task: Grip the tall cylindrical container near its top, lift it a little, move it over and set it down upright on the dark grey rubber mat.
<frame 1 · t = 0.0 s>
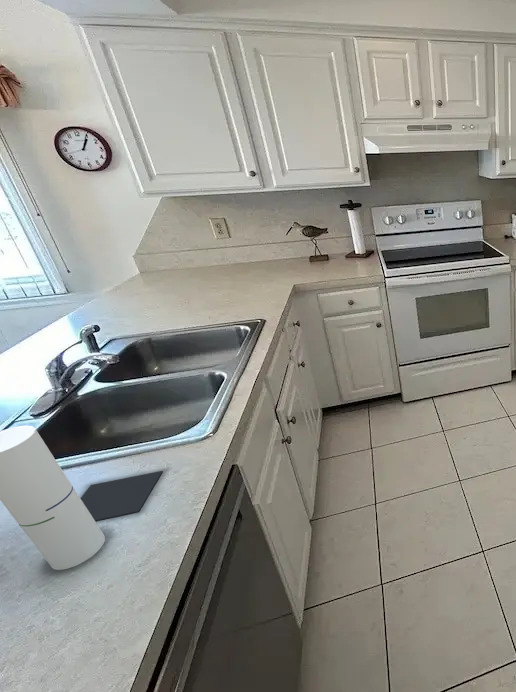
mat: (114, 498, 83), on the worktop
cylindrical container: (79, 551, 73), on the worktop
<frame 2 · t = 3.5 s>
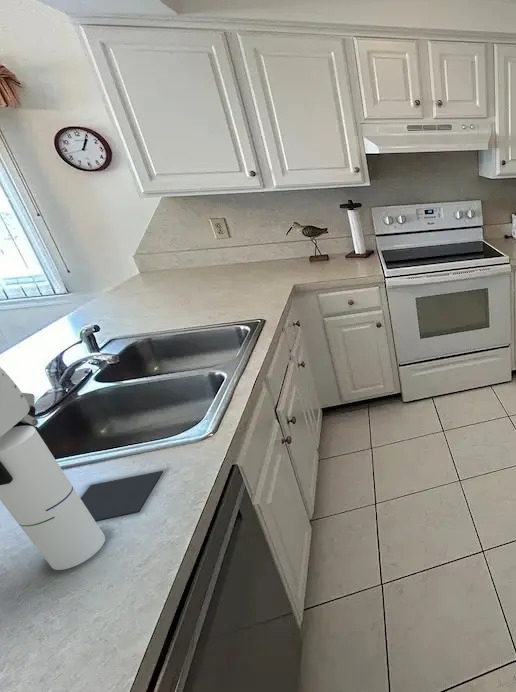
hand: (18, 464, 64), 20 cm above the worktop, tool pointing down, fingers closed on cylindrical container, 7 cm apart
cylindrical container: (79, 551, 73), on the worktop, touching gripper
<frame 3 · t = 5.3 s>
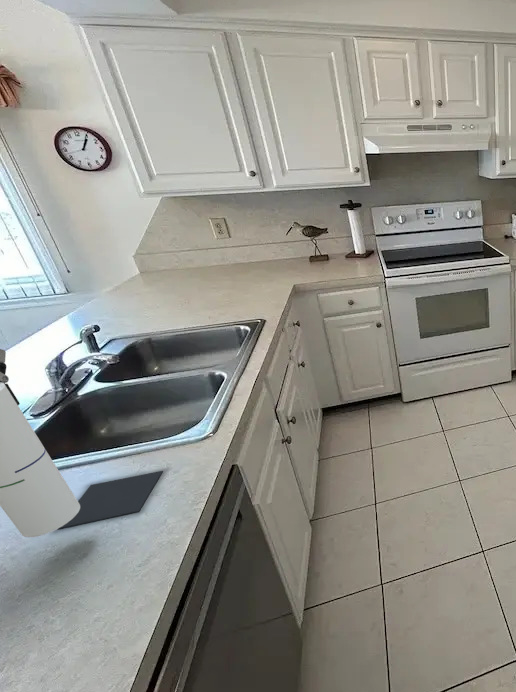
cylindrical container: (52, 519, 69), point 8 cm above the worktop, touching gripper
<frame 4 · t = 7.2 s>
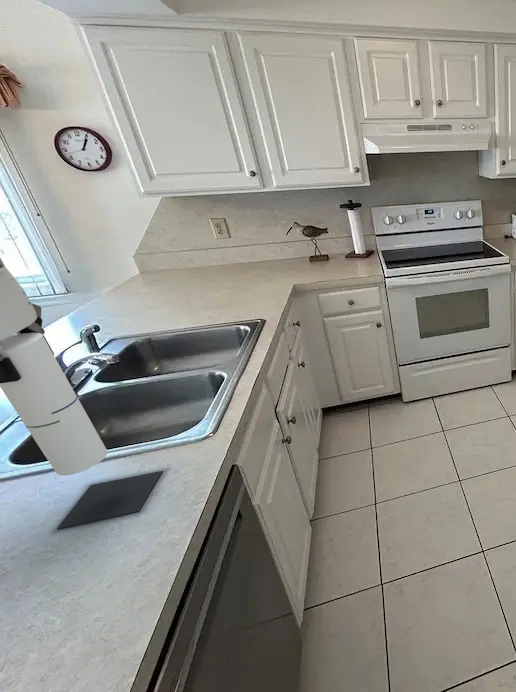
hand: (26, 368, 68), 32 cm above the worktop, tool pointing down, fingers closed on cylindrical container, 7 cm apart
cylindrical container: (82, 461, 77), point 11 cm above the worktop, touching gripper
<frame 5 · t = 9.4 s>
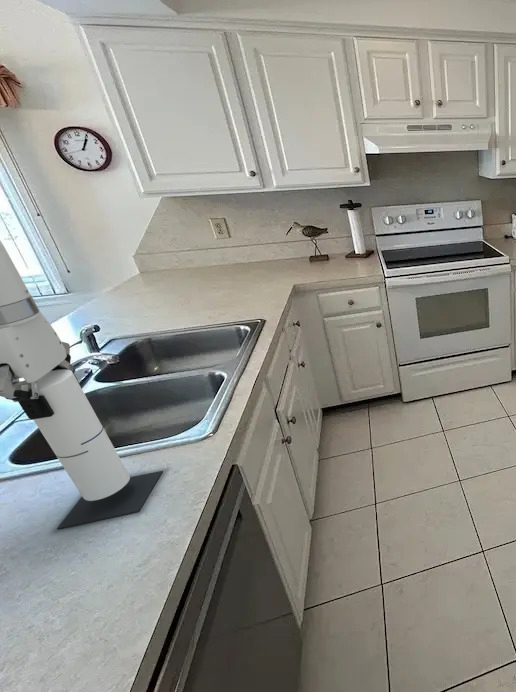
hand: (57, 403, 73), 24 cm above the worktop, tool pointing down, fingers closed on cylindrical container, 7 cm apart
cylindrical container: (107, 486, 82), point 3 cm above the worktop, touching gripper
when the fingers open (21 cm above the worktop, at t = 10.9 s): cylindrical container stays where it is, resting on mat.
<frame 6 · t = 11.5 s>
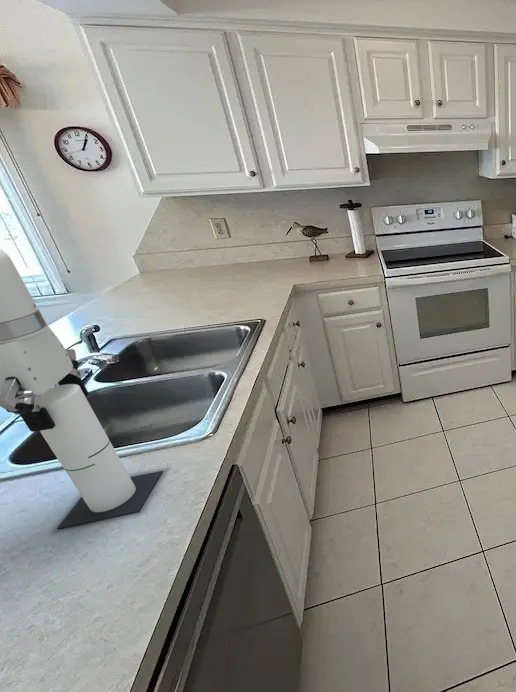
hand: (62, 412, 74), 22 cm above the worktop, tool pointing down, fingers open, 9 cm apart
cylindrical container: (113, 498, 83), resting on mat
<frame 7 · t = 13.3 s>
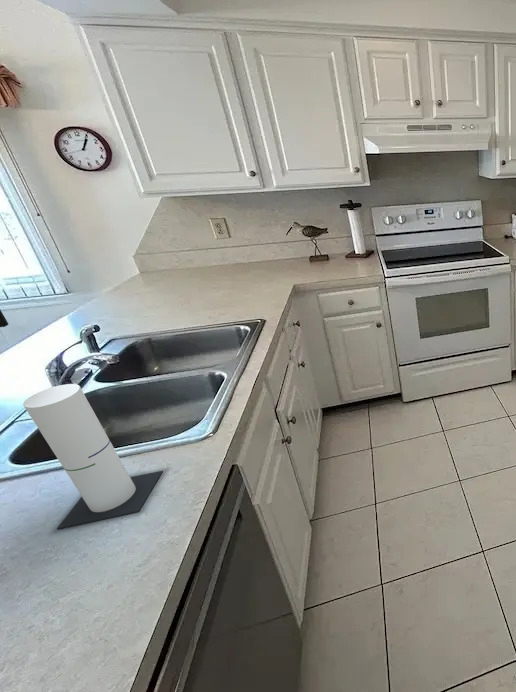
nothing on the worktop moved.
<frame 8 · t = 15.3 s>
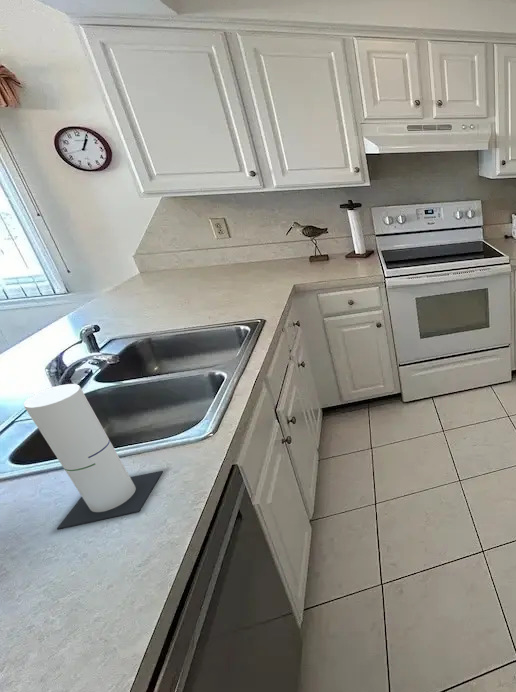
nothing on the worktop moved.
at the end: cylindrical container inside the target area (0.1 cm from its centre), resting on mat; cylindrical container tilted 0°; the gripper is holding nothing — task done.
